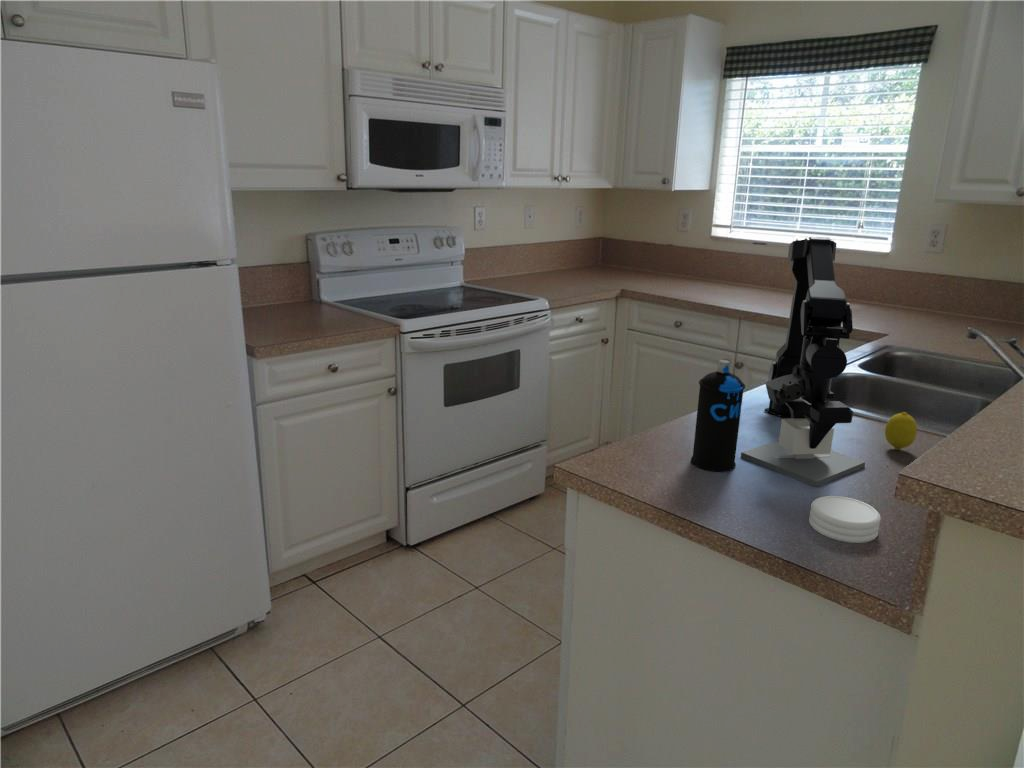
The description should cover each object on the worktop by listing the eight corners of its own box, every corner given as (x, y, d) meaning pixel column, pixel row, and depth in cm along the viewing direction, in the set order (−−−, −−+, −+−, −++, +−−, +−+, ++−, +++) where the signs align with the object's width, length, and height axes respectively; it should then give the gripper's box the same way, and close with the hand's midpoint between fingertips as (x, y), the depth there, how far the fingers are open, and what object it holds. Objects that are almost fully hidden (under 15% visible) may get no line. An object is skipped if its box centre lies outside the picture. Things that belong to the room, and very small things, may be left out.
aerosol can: (681, 458, 140) (691, 357, 134) (716, 452, 143) (727, 353, 137) (709, 474, 132) (720, 369, 127) (744, 468, 136) (758, 365, 130)
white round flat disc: (843, 549, 108) (847, 528, 107) (794, 520, 117) (797, 500, 116) (892, 537, 112) (896, 517, 111) (841, 509, 121) (844, 490, 120)
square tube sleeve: (778, 443, 141) (782, 417, 139) (815, 442, 141) (819, 417, 140) (791, 454, 135) (795, 428, 134) (830, 453, 136) (834, 427, 135)
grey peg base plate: (740, 457, 141) (743, 437, 140) (790, 440, 150) (792, 422, 149) (815, 486, 128) (819, 466, 127) (864, 466, 137) (868, 447, 136)
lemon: (903, 444, 149) (910, 407, 147) (918, 455, 144) (926, 417, 141) (876, 444, 149) (883, 407, 146) (891, 455, 143) (898, 416, 141)
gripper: (753, 350, 141) (744, 425, 146) (799, 378, 124) (786, 463, 128) (808, 350, 143) (797, 424, 147) (861, 377, 125) (846, 461, 129)
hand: (804, 442), depth 138 cm, fingers closed on square tube sleeve, 5 cm apart
